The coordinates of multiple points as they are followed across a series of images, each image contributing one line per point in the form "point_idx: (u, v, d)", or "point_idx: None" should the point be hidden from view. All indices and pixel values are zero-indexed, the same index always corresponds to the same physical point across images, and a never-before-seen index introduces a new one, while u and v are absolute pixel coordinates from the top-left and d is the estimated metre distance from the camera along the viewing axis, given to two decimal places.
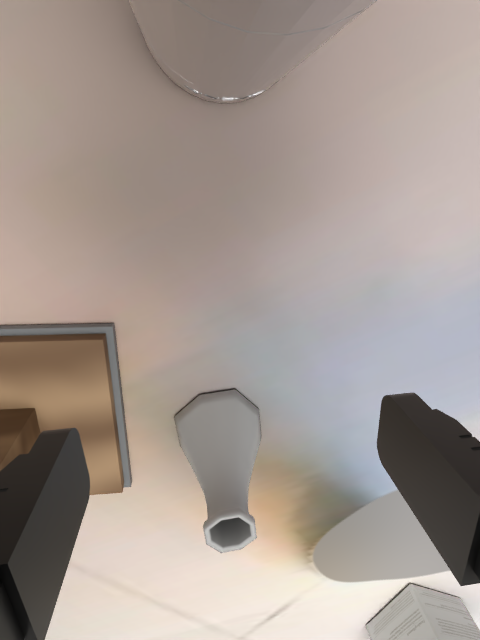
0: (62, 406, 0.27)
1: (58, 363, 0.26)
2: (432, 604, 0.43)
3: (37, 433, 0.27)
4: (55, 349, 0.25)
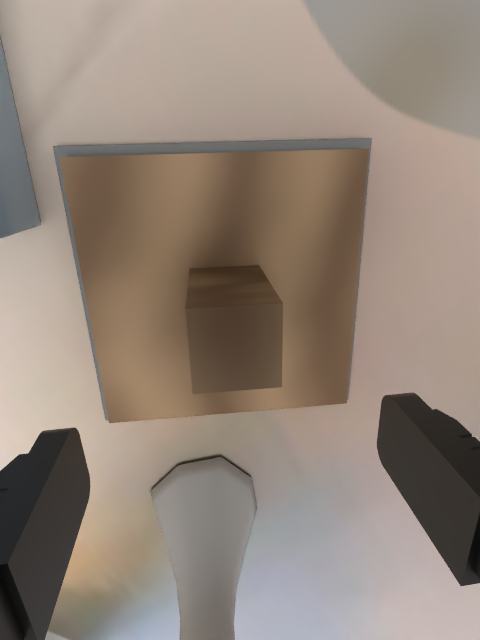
0: None
1: (321, 359, 0.22)
2: None
3: None
4: (340, 357, 0.22)
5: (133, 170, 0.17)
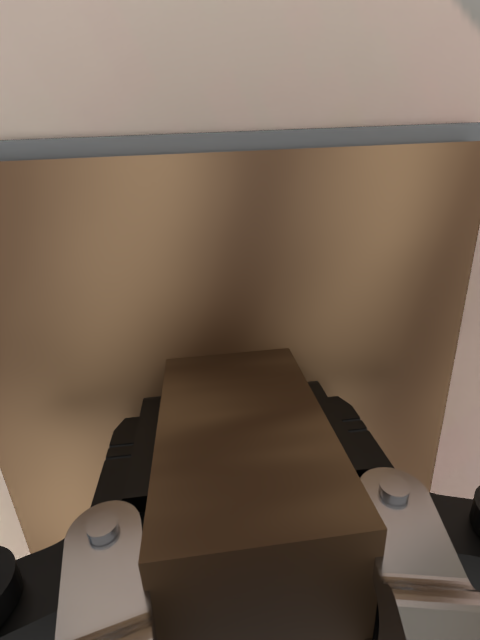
0: None
1: None
2: None
3: None
4: None
5: (49, 190, 0.09)
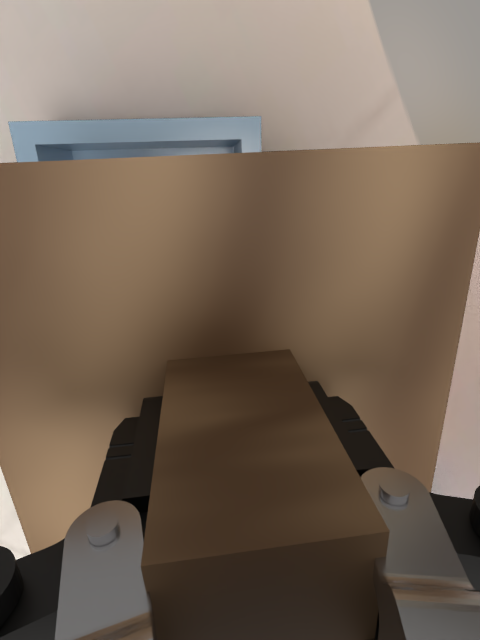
0: None
1: None
2: None
3: None
4: None
5: (50, 191, 0.09)
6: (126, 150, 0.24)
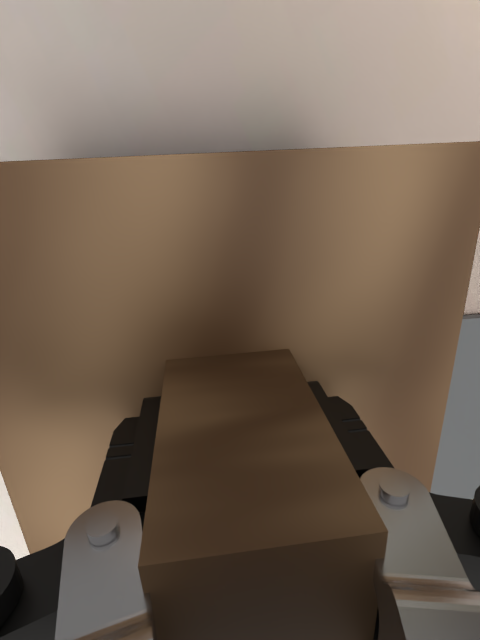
0: None
1: None
2: None
3: None
4: None
5: (48, 190, 0.09)
6: None
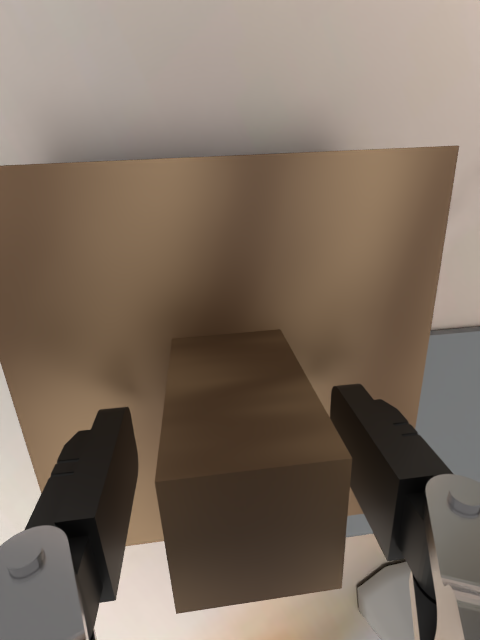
0: None
1: None
2: None
3: None
4: None
5: (71, 189, 0.10)
6: None
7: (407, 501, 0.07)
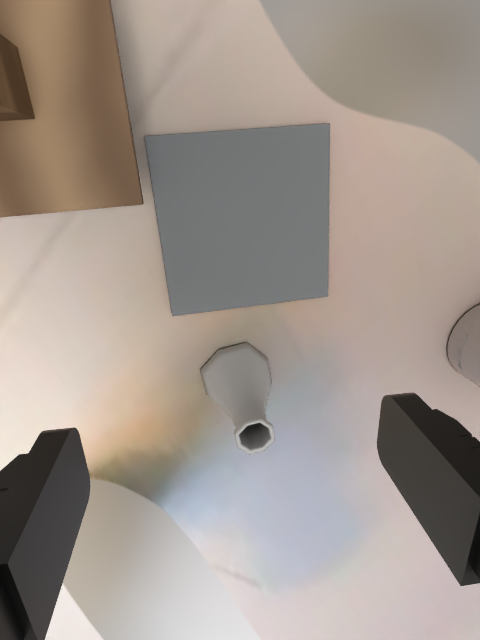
0: (44, 154, 0.23)
1: (105, 154, 0.23)
2: None
3: None
4: (123, 152, 0.23)
5: None
6: None
7: None
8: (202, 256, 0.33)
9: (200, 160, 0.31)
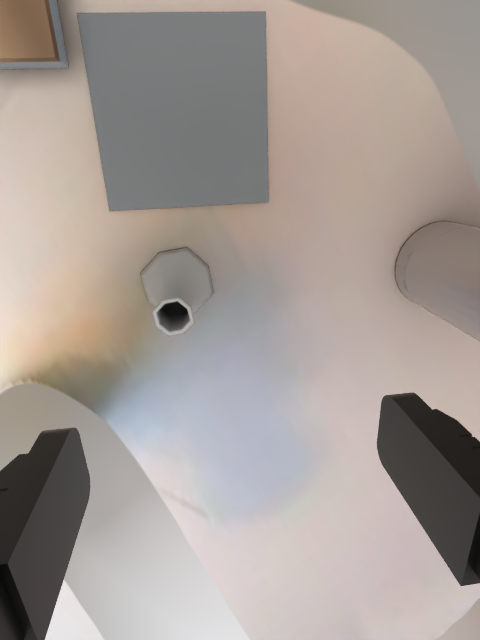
0: None
1: None
2: None
3: None
4: None
5: None
6: None
7: None
8: (138, 148, 0.34)
9: (134, 43, 0.31)
